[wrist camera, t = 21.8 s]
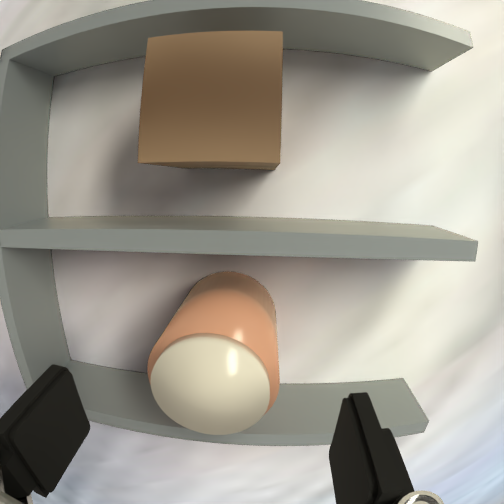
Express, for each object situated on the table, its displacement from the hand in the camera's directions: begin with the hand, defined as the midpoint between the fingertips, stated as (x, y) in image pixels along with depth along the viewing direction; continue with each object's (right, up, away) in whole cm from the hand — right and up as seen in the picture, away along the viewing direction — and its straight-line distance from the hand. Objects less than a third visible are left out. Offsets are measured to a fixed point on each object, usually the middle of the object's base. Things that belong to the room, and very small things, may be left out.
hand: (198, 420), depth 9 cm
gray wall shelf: (0, +7, +9) cm, 11 cm away
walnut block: (+1, +13, +7) cm, 15 cm away
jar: (0, +2, +10) cm, 10 cm away
